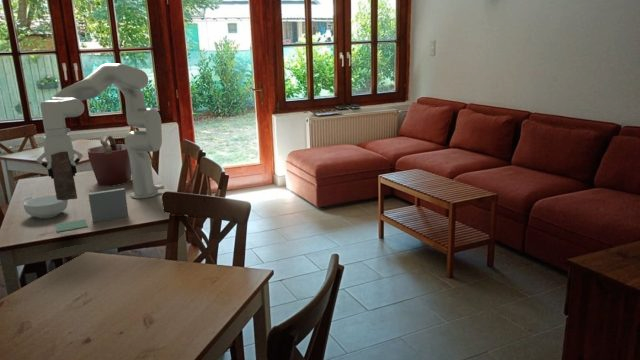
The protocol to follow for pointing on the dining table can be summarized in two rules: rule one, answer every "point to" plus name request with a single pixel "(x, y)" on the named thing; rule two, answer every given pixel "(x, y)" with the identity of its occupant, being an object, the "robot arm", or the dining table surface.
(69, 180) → the brown textured block
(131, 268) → the dining table surface
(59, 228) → the mat
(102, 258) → the dining table surface
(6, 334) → the dining table surface
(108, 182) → the bucket
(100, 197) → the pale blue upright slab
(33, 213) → the cereal bowl
